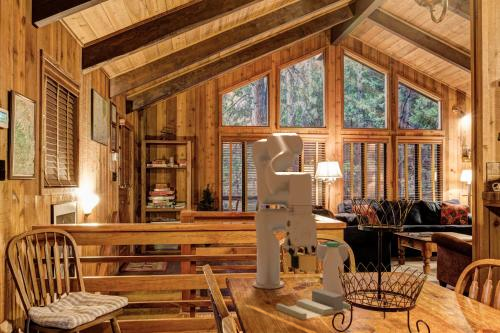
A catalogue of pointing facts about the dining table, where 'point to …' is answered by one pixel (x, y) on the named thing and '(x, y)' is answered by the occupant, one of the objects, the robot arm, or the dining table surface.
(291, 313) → the slot board
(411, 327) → the dining table surface
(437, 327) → the dining table surface
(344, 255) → the chalice
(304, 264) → the ochre bar
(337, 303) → the slate bar
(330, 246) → the milk bottle
